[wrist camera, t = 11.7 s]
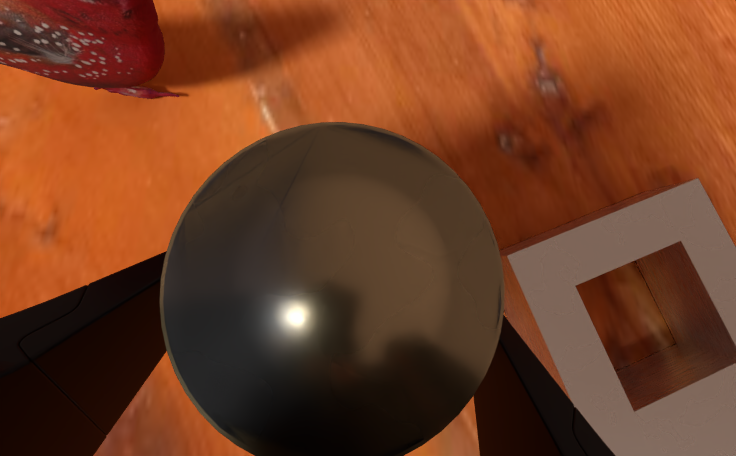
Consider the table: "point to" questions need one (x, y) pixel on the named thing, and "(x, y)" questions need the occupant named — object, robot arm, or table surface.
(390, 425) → the end plug
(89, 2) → the decorative bird figurine
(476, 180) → the table surface
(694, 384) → the housing block
